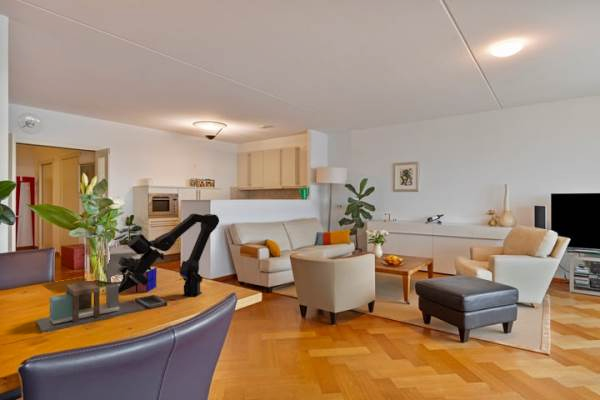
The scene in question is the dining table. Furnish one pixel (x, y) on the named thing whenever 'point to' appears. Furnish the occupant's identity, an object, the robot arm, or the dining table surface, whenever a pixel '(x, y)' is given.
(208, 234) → the robot arm
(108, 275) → the grey plant pot
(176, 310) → the dining table surface
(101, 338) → the dining table surface
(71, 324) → the grey long flat panel
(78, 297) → the tunnel
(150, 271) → the puzzle cube
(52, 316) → the sled
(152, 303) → the tray
